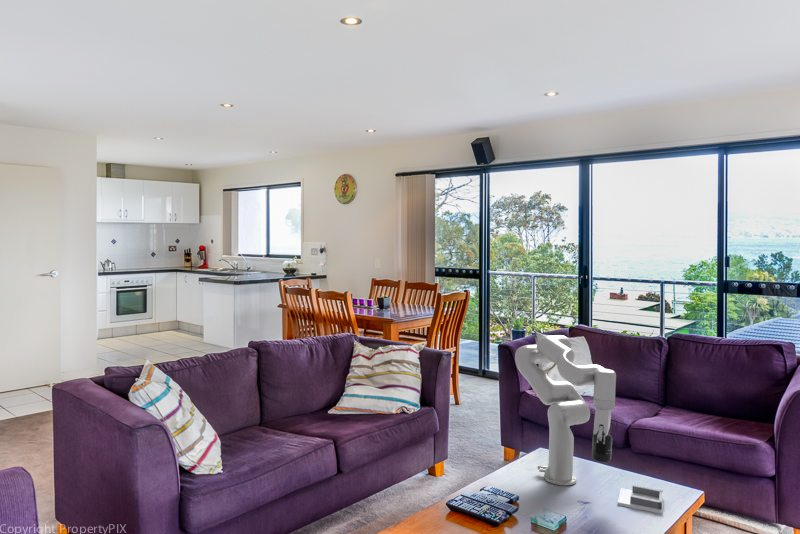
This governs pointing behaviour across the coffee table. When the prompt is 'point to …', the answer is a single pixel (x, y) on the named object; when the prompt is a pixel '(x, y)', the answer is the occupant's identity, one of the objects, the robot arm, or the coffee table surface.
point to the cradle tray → (642, 499)
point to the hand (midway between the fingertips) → (601, 450)
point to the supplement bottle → (607, 450)
